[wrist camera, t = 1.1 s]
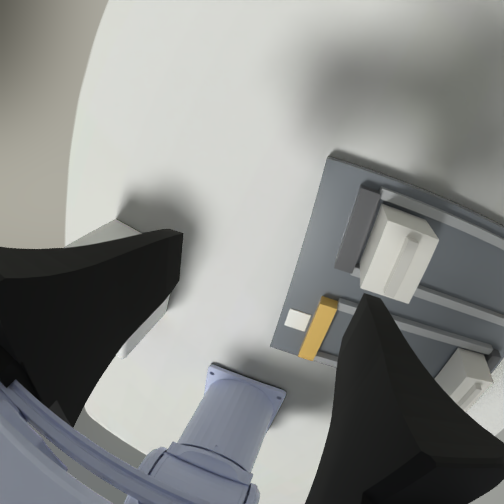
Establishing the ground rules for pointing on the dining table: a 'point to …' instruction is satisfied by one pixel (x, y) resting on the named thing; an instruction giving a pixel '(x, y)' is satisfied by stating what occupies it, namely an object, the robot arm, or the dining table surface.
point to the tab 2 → (465, 377)
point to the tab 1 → (396, 254)
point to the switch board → (405, 315)
